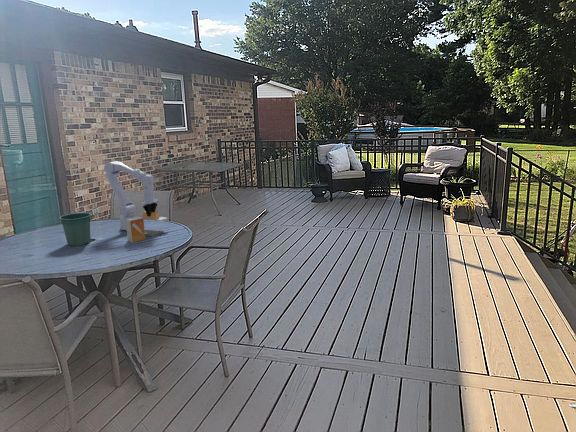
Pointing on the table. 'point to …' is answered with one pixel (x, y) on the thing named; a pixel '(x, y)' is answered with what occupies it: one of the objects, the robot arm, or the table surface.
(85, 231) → the flower pot
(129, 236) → the small box
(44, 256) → the table surface
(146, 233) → the tool board
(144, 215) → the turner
